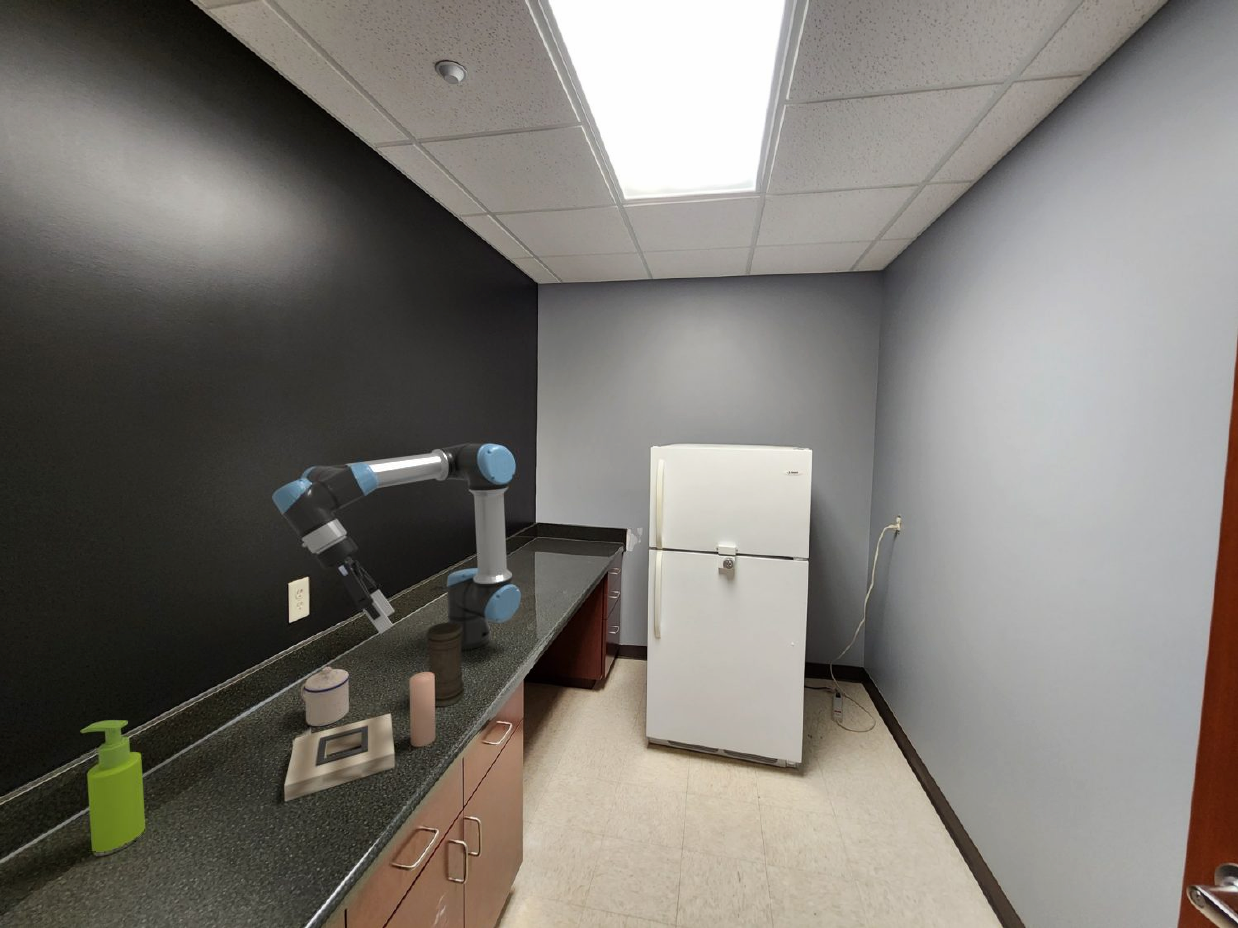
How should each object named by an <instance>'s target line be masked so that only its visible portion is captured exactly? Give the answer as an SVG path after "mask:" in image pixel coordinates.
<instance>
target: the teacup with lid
mask: <svg viewBox="0 0 1238 928" xmlns="http://www.w3.org/2000/svg"><path fill="white" fill-rule="evenodd" d="M349 679H350V674H349V672H348V671H346V670H344V669H340V668H336V669H335V668H334V669H333V668H332V667H331V666H326V667H323V668H322V669H321V671H320V672H318V673H316V674H313V675H312V676H310V677H309V678H308V679H306V681H305V683H303V685H302V686H301V688H300V695H301V698H302V699H303V701H304V702H305V720H306V723H307V724H308V725H310V726H312V727H313V726H314V727H323V726H326V725H327V726H328V725H331V724H333V723H336V722H338V721H340V720H341V719H342V718H344V717H346V715H347V714H348V713H349V710H350V701H349V699H350V697H349V696H350V695H349V694H350V692H349V691H350V690H349Z"/></svg>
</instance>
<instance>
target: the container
mask: <svg viewBox="0 0 1238 928" xmlns="http://www.w3.org/2000/svg"><path fill="white" fill-rule="evenodd" d="M426 631H427V632H426V636H427V639H428V659H429V661H428V662H429V664H428V665H429V670H428V672H431V673H433V674H434V679H435V707H447V706H451V705H454V704H455V703H457V702H459V701H461V699H462V698H463V696H464V694H465V688H464V685H465V684H464V682H463V672H462V650H461V632H462V626H461V625H460V624H458V623H453V622H447V621H446V622H440V623H437V624H434V625H433V626H431V627H429V628H428V630H426Z"/></svg>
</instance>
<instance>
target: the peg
mask: <svg viewBox="0 0 1238 928" xmlns="http://www.w3.org/2000/svg"><path fill="white" fill-rule="evenodd" d="M409 717H410V725H409V726H410V745H411V746H413V747H414V748H415V747H416V748H422V747H426V746H428V745H430V744H432V743H433V742H434V741H435V739H436V706H435V679H434V674H433V673H431V672H430V671H423V672H419V673H416V674H414V675H412V676H411V677H410V678H409Z"/></svg>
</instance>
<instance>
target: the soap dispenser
mask: <svg viewBox="0 0 1238 928" xmlns="http://www.w3.org/2000/svg"><path fill="white" fill-rule="evenodd" d="M128 722H129V721H128V720H121V719H120V720H117V719H116V720H115V719H110V720H108V719H107V720H103V721H102V720H101V721H96V722H94V723H91V724H90V725H88V726H86V727H85V728H83V729H81V730H80V733H82V734H85V733H89V732H91V733H92V732H104V735H105V737H104V738H105V742H104V743H101V745H100V746H99V747H98V748H97V754H98V763H97V764H95V765H94V766H93V767H91V768H90V769H89V770H88V772H87V774H86V775H87V789H88V790H87V793H88V807H89V808H88V809H89V822H90V838H91V852H92V851H96V852H104V851H109V850H112V849H115V848H118V847H119V846H123V845H124V844H125V843H128V842H130V841H132V840H134V838H136V837H138V836H139V835H140V834H141V833H142V832H143V831H144V829H145V830H146V819H145V815H146V814H145V800H144V798H145V797H144V782H143V779H144V778H143V765H142V754H141V753H140V752H136V751H131V748H130V746H131V745H130V739H129V737H126V736H122V728H124V727H125V726H127V725H128Z"/></svg>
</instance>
